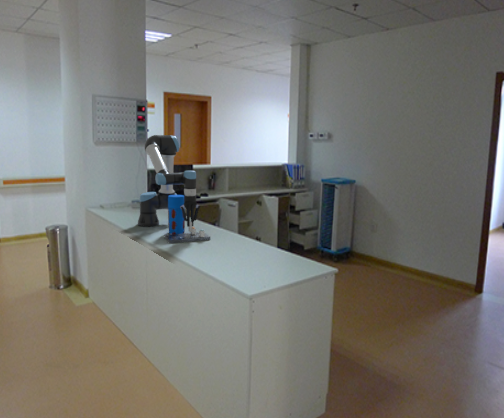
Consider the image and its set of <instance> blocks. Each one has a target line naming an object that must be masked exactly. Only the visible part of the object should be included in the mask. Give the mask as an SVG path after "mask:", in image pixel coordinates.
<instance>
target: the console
mask: <svg viewBox="0 0 504 418" xmlns="http://www.w3.org/2000/svg"><path fill="white" fill-rule="evenodd" d="M163 237H164V239H165V241H167V243H168V244H179V243H180V244H182V243H191V242H205V241H211V236H210V235H209V234H207V233H206V232H205V237H200V236H199V231H198V232H197V231H196V234H191V232H188V233H185V232H184V233H183V234H164V235H163Z"/></svg>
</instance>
